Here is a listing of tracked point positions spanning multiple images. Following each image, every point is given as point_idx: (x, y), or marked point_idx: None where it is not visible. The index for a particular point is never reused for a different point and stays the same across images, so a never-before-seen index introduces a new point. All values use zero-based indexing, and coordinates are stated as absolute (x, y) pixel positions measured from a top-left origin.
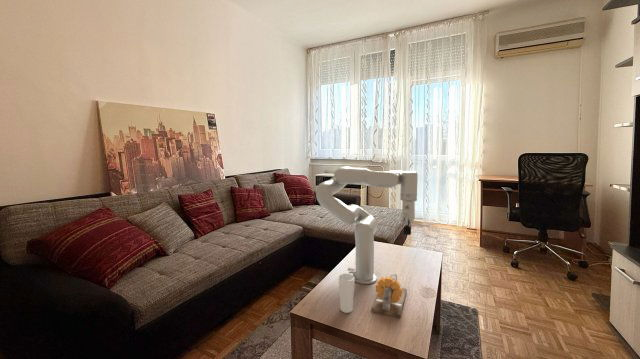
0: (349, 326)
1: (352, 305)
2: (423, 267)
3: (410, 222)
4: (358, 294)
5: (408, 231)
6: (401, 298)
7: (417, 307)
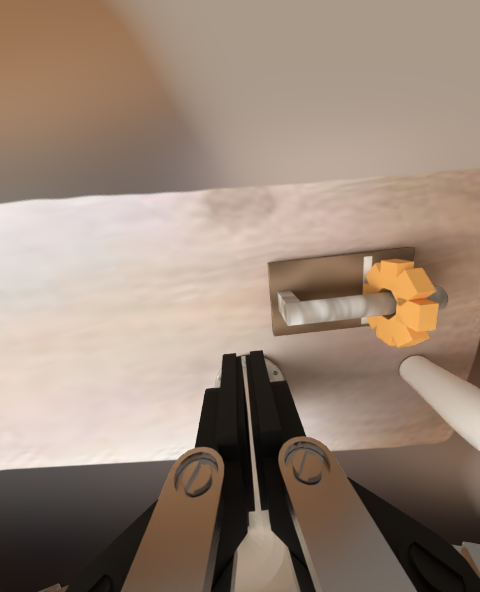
0: (469, 338)
1: (427, 362)
2: (62, 247)
3: (321, 575)
4: (336, 368)
5: (291, 397)
6: (331, 264)
7: (339, 215)
